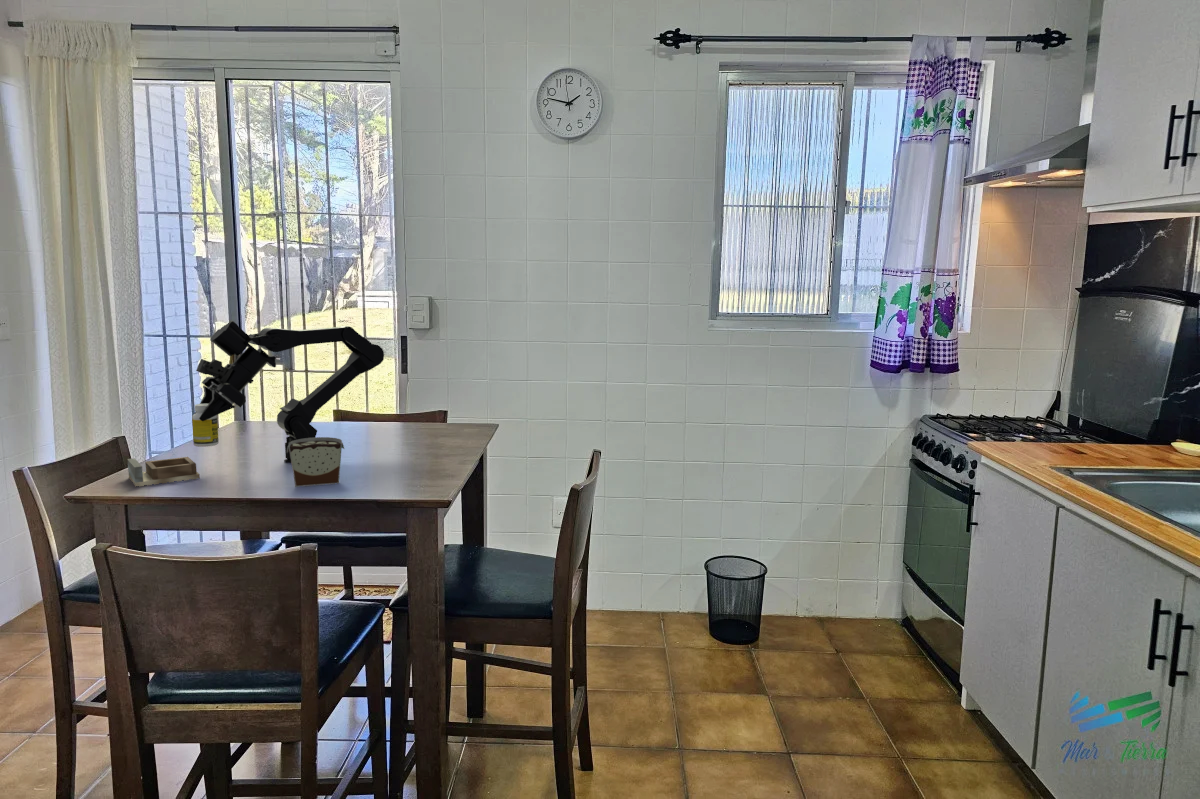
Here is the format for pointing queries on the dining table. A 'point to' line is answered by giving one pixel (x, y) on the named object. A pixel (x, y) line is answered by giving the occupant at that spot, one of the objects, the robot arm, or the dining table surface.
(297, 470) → the food container
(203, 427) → the supplement bottle
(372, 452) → the dining table surface
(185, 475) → the wooden display tray
